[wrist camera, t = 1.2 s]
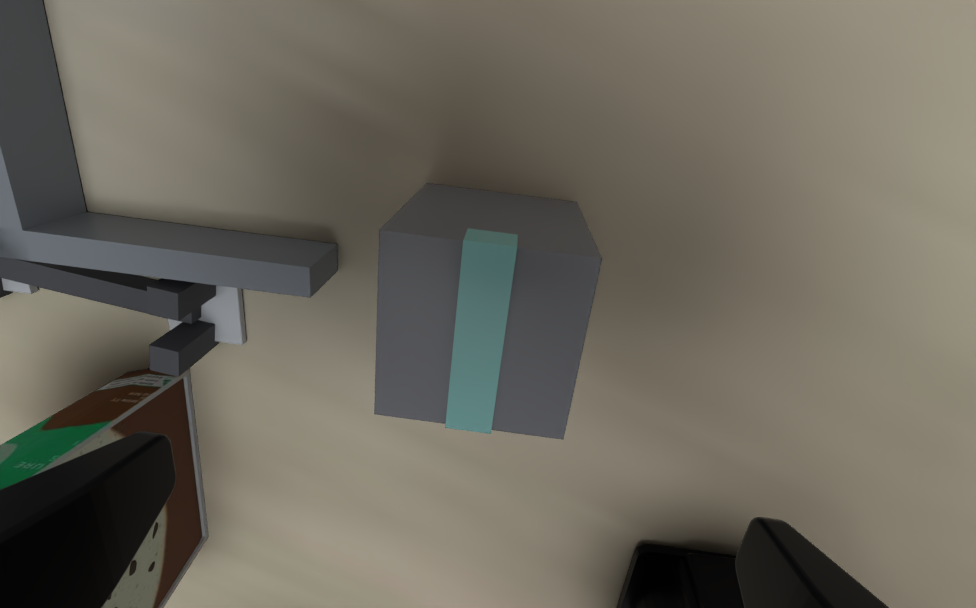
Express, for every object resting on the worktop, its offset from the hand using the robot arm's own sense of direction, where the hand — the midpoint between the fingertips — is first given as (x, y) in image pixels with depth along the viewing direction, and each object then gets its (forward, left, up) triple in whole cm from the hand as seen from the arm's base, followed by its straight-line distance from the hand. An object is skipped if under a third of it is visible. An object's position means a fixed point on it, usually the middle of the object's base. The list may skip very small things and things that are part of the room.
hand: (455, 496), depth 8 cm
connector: (0, 0, -11) cm, 11 cm away
